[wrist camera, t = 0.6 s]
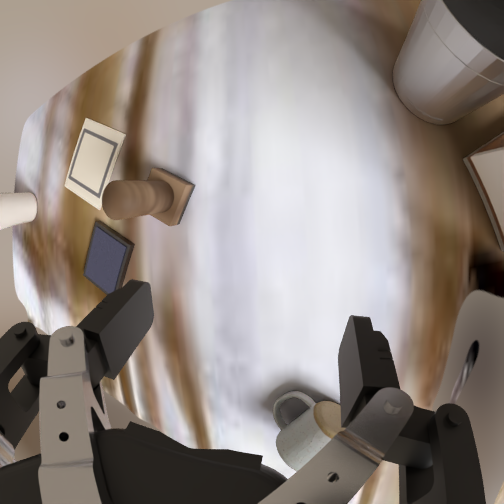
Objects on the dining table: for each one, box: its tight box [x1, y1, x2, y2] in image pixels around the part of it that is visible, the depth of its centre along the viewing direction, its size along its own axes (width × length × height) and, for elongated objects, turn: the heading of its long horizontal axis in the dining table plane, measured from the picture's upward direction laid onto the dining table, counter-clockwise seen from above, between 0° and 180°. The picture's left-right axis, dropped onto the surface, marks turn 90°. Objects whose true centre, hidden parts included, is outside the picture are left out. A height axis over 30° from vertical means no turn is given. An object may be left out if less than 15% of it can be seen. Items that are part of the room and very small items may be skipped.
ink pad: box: [83, 221, 135, 295], centre depth 38 cm, size 9×7×1 cm
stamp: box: [102, 168, 195, 226], centre depth 29 cm, size 5×5×10 cm
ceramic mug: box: [273, 391, 346, 471], centre depth 31 cm, size 11×8×8 cm
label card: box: [65, 118, 126, 210], centre depth 36 cm, size 11×9×1 cm
